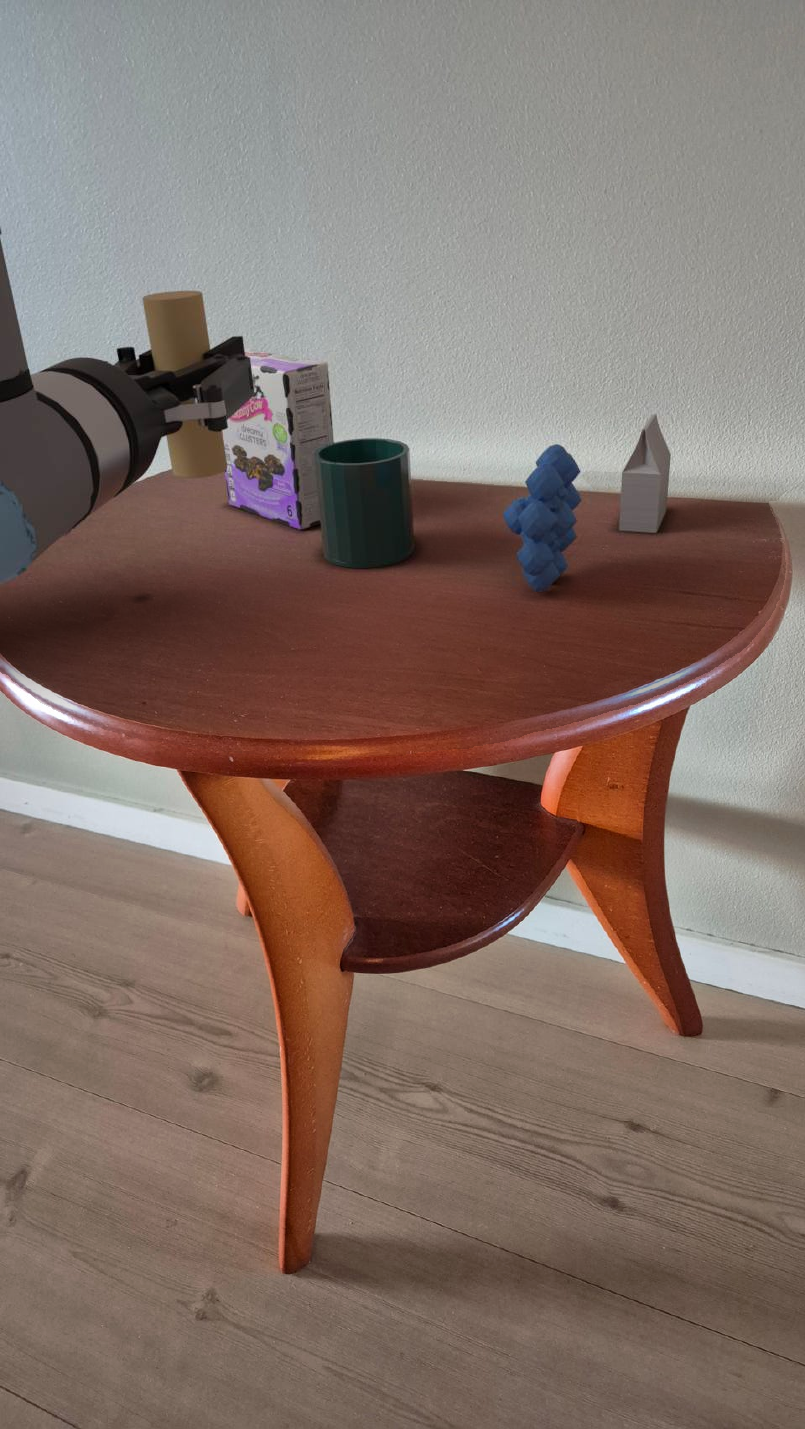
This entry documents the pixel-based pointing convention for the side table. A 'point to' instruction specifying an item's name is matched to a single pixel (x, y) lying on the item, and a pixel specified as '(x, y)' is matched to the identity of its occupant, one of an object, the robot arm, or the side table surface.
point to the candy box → (279, 439)
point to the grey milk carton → (645, 482)
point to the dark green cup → (365, 502)
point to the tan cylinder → (174, 347)
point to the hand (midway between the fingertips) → (209, 356)
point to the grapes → (546, 517)
